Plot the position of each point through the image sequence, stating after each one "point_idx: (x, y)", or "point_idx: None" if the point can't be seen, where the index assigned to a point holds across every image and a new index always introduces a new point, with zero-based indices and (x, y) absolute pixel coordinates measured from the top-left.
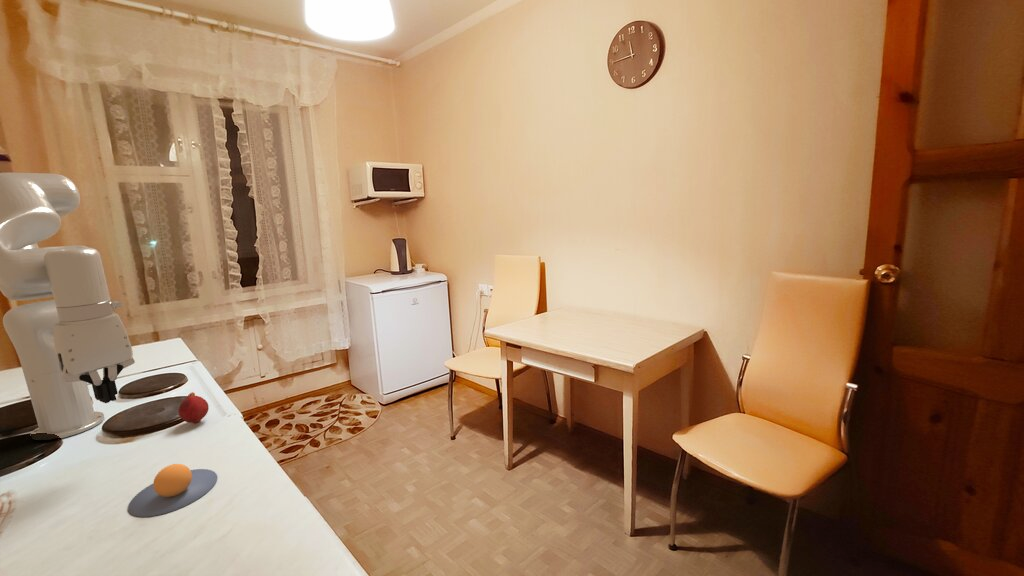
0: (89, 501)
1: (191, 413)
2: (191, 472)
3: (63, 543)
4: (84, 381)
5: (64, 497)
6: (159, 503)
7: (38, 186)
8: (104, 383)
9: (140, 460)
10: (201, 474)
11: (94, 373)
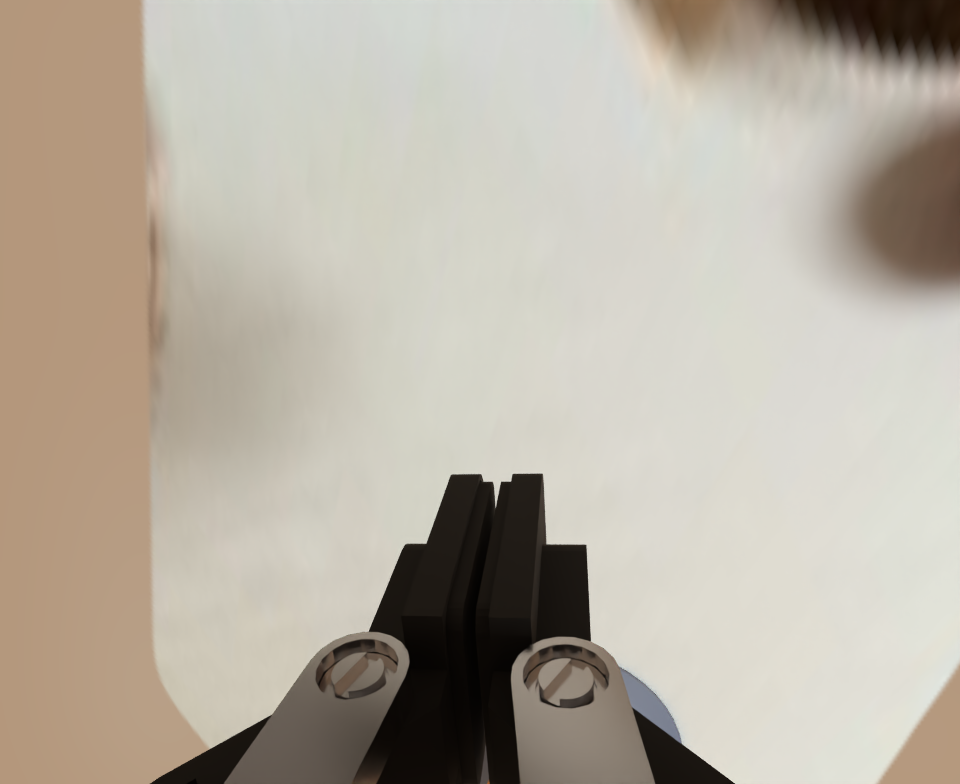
0: (355, 544)
1: None
2: (640, 707)
3: (260, 704)
4: (249, 737)
5: (302, 421)
6: (484, 777)
7: None
8: (471, 756)
9: (593, 389)
10: None
11: None
